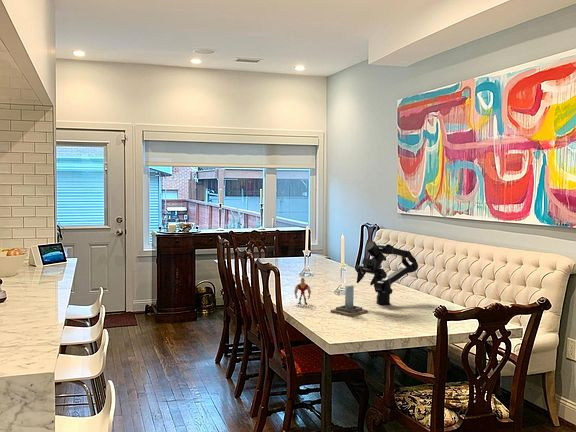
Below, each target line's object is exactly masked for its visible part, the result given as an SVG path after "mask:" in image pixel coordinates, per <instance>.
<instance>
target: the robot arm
mask: <svg viewBox="0 0 576 432" xmlns="http://www.w3.org/2000/svg"><path fill="white" fill-rule="evenodd" d="M364 249H365V251H366V252H367V253H368V255H369V256H370V257H372V258H366V257H363V258H362V262H361V264H362V265H358V264H357V265H356V266H355V267H354V270H355V271H356V273H357V277H356V283H357V284H359V283H360V282H361V281H362V280H363V278H364V277H365V275H366V273H367V274H372V275H373V277H372V279H371V281H370V283H369V284H370V286H373V287H374V288H373V289H374V292H375V293H377V294H376V301H375V302H376V304H378V305H382V306H384V305H391V304H392V303H391V301H390V299H391V297H390V296H391V295H392V294H393V291H394V290H393V289H392V285H393V283H395V282H396V281H398V280H400V279H402V278H403V277H404V276H405V275H407V274H410V273H414V272H417V270H419V263H418V262H417V258H415V256H413V254H412V252H411V251H409V250H405V249H402V248H396V247H394V245H392V244H388V243H382V242H381V243H379V244H378V245H377V243H376V242H375V240H374V241H371V242H368V243H367V244H366V245H365V246H364ZM386 255H395V256H398V257H401V263H402V264H401V266H400V267H399V268H398V269H396V270H394V272H392V273H390V274H389V275H387V272H386V271H385V270H384V268H381V267H382V266H381V265H382V263H383V262H384V261H387V258H386ZM363 265H364V266H363Z"/></svg>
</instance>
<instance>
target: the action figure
mask: <svg viewBox="0 0 576 432" xmlns="http://www.w3.org/2000/svg"><path fill="white" fill-rule="evenodd" d="M306 290H307V293H308V295H307V298H306V295H305V291H306ZM298 291H300V296H299V299H298V295H297V294H298ZM311 293H312V291H311V286H310V285H308V284H307V283H306V282H305V278H303V277H301V279H300V283H298V284H297V285H296V286H295V287H294V297H295V299H296V300H299V301H298V303H297V304H298V305H300V304H301V303H302V301H301V300H302V297H303V300H304V302H303V303H304V304H305V305H308V303H307V300H309V299H310V298H311Z"/></svg>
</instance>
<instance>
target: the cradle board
mask: <svg viewBox="0 0 576 432" xmlns="http://www.w3.org/2000/svg"><path fill="white" fill-rule="evenodd" d="M368 310H369V309H368ZM368 310H367V309H365V308H364V309H363V307H362V306H357V305H353V309H351V310H349V309H345V304H343V305H340V306H336V307H335V308H334V309H330V313H333V314H337V315H342V316H345V317H346V316H347V317H355V316H359V315H362V314H363V315H364V314H367V313H368Z"/></svg>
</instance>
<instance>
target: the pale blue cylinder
mask: <svg viewBox="0 0 576 432" xmlns="http://www.w3.org/2000/svg"><path fill="white" fill-rule="evenodd" d="M344 288H345V290H344V292H345V293H344V295H345V296H344V305H345V309H349V310H351V309H353V306H354V288H355V287H354V285H352V284H345V287H344Z"/></svg>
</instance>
